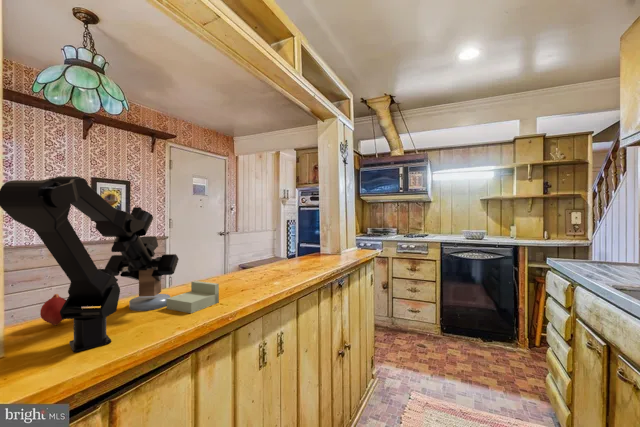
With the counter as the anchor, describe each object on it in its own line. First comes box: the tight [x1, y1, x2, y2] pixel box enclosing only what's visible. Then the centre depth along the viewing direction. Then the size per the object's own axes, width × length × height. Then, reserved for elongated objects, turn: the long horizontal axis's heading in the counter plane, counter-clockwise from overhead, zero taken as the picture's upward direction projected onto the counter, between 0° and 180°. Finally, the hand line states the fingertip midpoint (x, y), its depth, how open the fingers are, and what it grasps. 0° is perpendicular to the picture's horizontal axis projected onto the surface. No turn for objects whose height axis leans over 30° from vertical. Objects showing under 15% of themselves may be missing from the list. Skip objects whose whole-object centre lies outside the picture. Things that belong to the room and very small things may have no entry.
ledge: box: [165, 280, 220, 314], centre depth 92 cm, size 11×10×6 cm
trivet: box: [128, 293, 171, 312], centre depth 92 cm, size 11×11×2 cm
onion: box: [39, 293, 67, 326], centre depth 76 cm, size 6×6×8 cm
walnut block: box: [138, 267, 162, 297], centre depth 92 cm, size 4×4×9 cm
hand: (152, 280), depth 93 cm, fingers closed on walnut block, 4 cm apart
